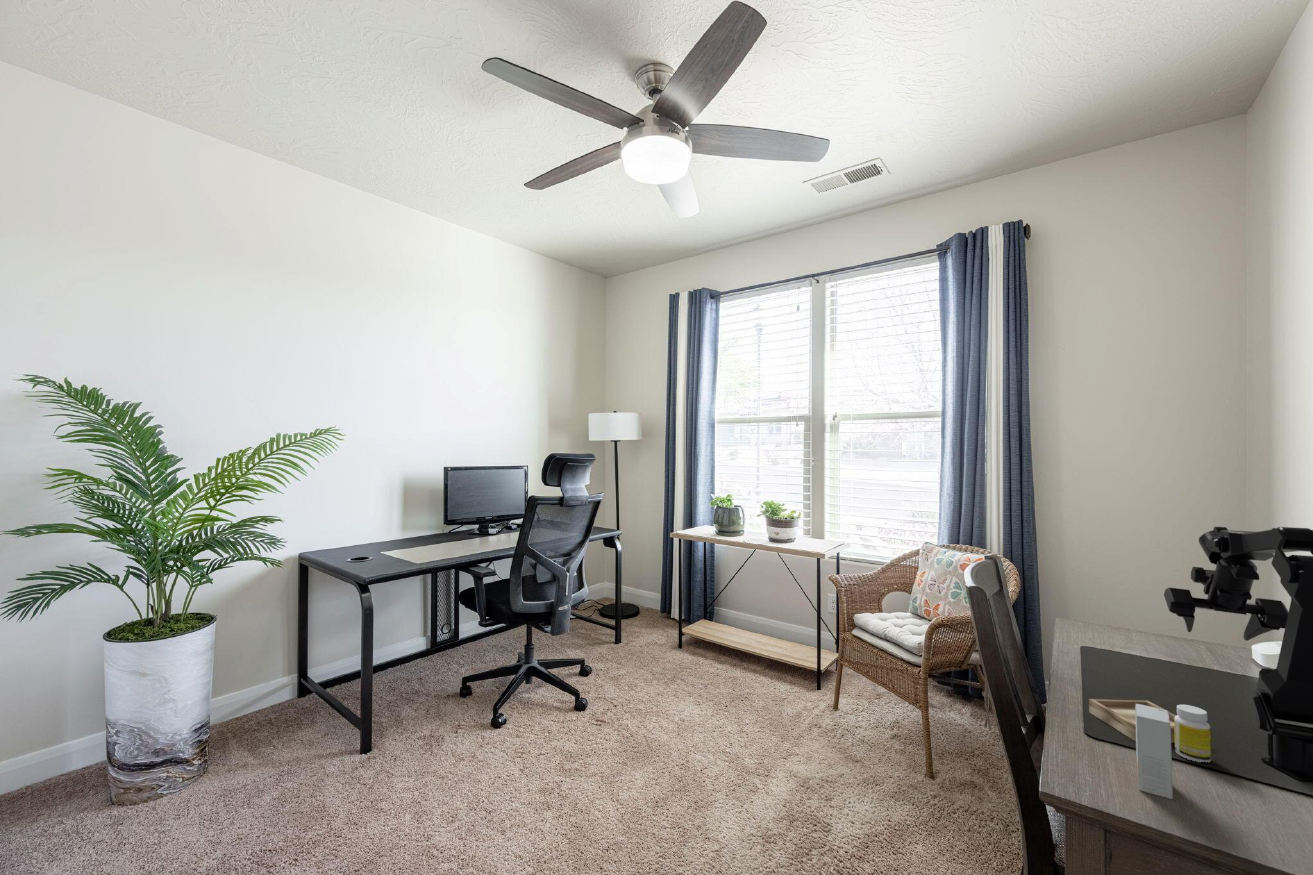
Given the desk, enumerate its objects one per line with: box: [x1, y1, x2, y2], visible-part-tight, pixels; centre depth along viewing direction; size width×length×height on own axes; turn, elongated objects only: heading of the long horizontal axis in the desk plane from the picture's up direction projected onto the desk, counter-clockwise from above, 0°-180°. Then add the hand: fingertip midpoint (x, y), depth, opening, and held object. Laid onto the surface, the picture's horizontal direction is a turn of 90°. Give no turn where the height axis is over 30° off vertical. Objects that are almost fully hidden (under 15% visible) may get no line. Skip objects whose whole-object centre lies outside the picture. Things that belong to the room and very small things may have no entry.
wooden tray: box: [1088, 698, 1177, 743], centre depth 112 cm, size 12×12×3 cm
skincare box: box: [1135, 704, 1174, 800], centre depth 91 cm, size 6×4×12 cm
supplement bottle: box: [1174, 704, 1212, 764], centre depth 101 cm, size 5×5×8 cm
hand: (1216, 634), depth 124 cm, fingers open, 9 cm apart
